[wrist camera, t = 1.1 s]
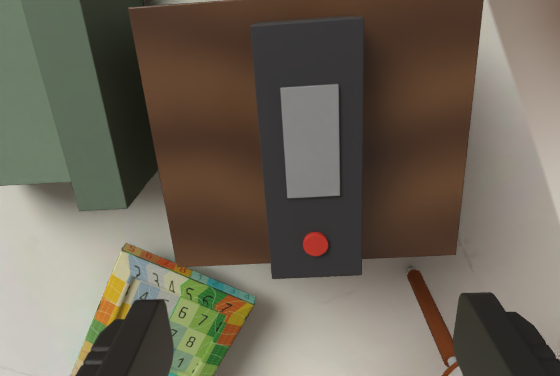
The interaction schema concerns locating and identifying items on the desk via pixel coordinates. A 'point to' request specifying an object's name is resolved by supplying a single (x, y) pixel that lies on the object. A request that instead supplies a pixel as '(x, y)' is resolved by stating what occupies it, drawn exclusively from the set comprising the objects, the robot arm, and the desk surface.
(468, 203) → the desk surface
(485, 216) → the desk surface
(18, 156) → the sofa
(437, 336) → the magnifying glass
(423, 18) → the shelf
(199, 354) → the puzzle game
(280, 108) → the remote
